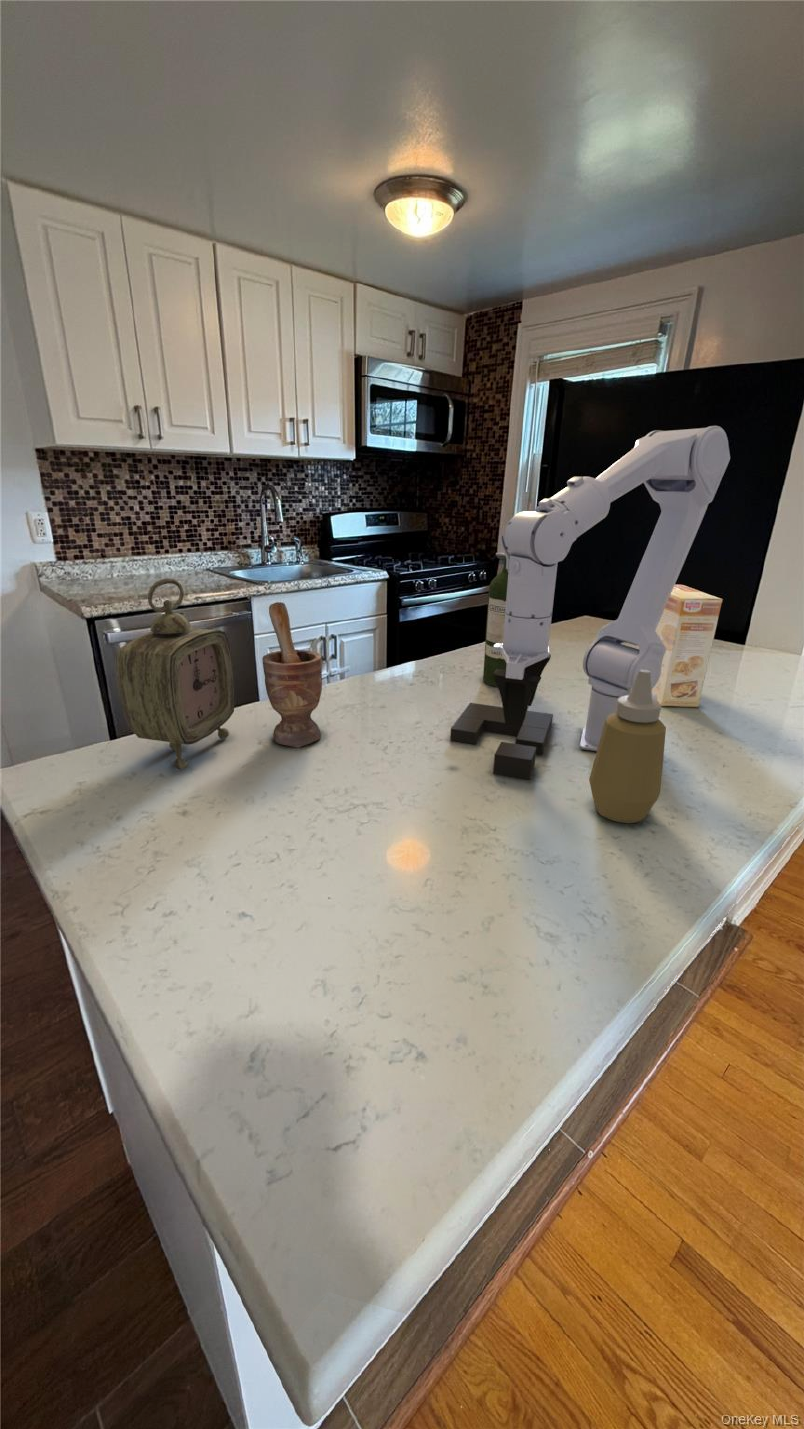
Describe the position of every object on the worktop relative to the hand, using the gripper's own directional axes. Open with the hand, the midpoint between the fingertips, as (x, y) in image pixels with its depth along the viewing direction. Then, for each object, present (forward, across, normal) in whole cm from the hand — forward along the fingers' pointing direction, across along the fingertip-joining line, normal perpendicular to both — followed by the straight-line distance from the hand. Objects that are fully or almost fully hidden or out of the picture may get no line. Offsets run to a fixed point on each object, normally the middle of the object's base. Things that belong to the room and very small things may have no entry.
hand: (518, 714), depth 76 cm
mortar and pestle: (+9, +1, -35) cm, 36 cm away
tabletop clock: (+8, +12, -46) cm, 48 cm away
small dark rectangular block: (+8, 0, 0) cm, 8 cm away
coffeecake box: (+9, -42, +21) cm, 48 cm away
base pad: (+8, -12, -4) cm, 15 cm away
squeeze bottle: (+9, +6, +14) cm, 17 cm away
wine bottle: (+9, -37, -9) cm, 39 cm away
